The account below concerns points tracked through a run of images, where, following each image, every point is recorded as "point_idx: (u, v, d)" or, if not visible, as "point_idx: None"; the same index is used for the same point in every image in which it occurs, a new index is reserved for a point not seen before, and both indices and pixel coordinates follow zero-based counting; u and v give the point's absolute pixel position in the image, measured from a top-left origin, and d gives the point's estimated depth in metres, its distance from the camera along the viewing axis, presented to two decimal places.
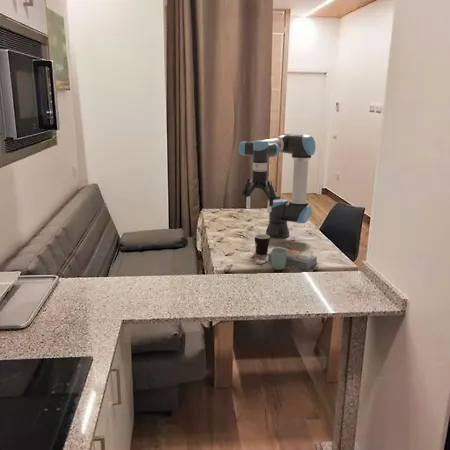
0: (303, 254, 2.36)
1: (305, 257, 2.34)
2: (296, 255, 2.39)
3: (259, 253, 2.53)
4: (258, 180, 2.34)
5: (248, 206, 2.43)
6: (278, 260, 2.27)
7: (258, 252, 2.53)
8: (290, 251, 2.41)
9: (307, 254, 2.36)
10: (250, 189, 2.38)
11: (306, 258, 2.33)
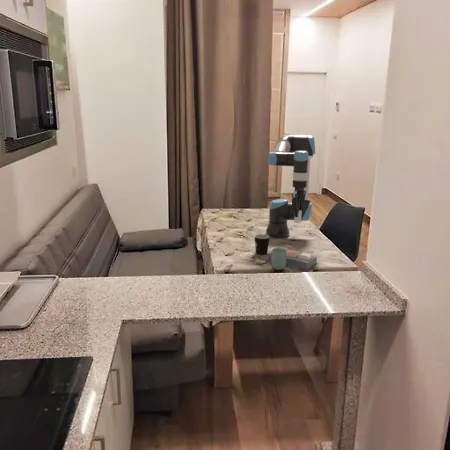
0: (303, 254, 2.36)
1: (305, 257, 2.34)
2: (296, 255, 2.39)
3: (259, 253, 2.53)
4: None
5: None
6: (278, 260, 2.27)
7: (258, 252, 2.53)
8: (290, 251, 2.41)
9: (307, 254, 2.36)
10: None
11: (306, 258, 2.33)
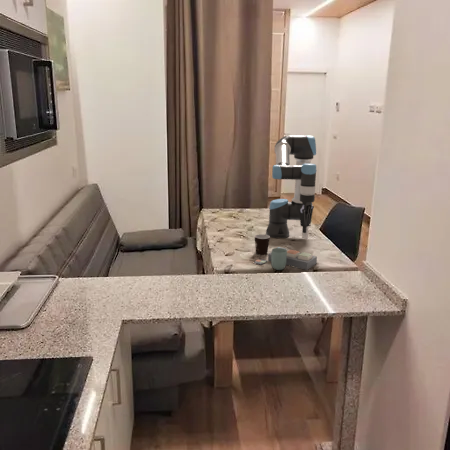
0: (303, 254, 2.36)
1: (305, 257, 2.34)
2: (296, 255, 2.39)
3: (259, 253, 2.53)
4: None
5: None
6: (278, 260, 2.27)
7: (258, 252, 2.53)
8: (290, 251, 2.41)
9: (307, 254, 2.36)
10: None
11: (306, 258, 2.33)
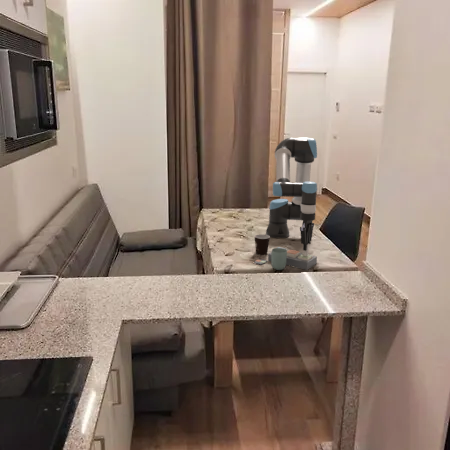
0: (303, 256, 2.37)
1: (305, 259, 2.34)
2: (296, 255, 2.39)
3: (259, 253, 2.53)
4: None
5: None
6: (278, 260, 2.27)
7: (258, 252, 2.53)
8: (290, 251, 2.41)
9: (307, 256, 2.37)
10: None
11: None
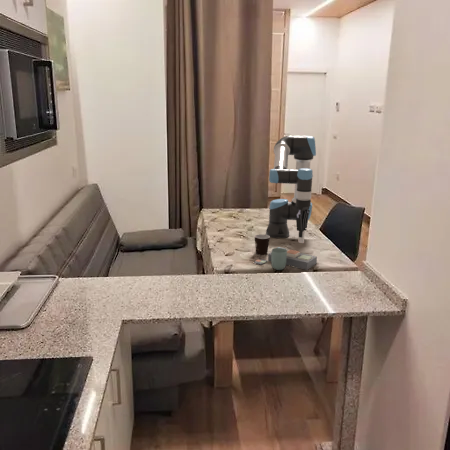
0: (303, 257, 2.37)
1: None
2: (296, 255, 2.39)
3: (259, 253, 2.53)
4: None
5: None
6: (278, 260, 2.27)
7: (258, 252, 2.53)
8: (290, 251, 2.41)
9: (307, 257, 2.37)
10: None
11: None
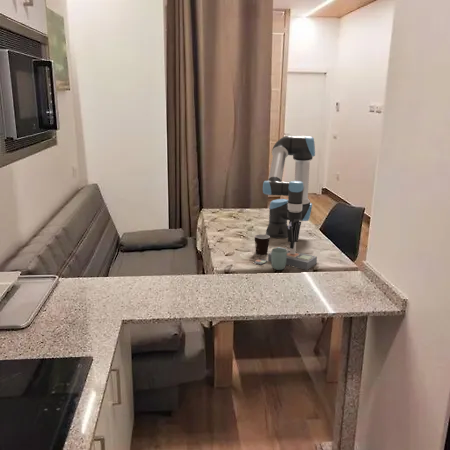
0: (303, 257, 2.37)
1: None
2: None
3: (259, 253, 2.53)
4: None
5: None
6: (278, 260, 2.27)
7: (258, 252, 2.53)
8: None
9: (307, 257, 2.37)
10: None
11: None
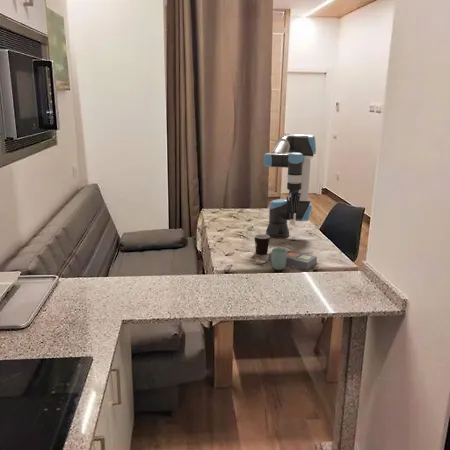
0: (303, 257, 2.37)
1: None
2: None
3: (259, 253, 2.53)
4: None
5: None
6: (278, 260, 2.27)
7: (258, 252, 2.53)
8: (290, 254, 2.41)
9: (307, 257, 2.37)
10: None
11: None
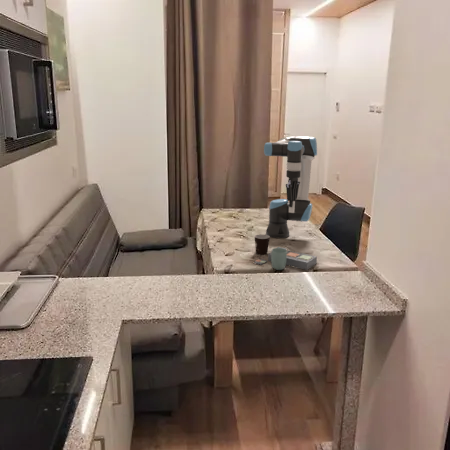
0: (303, 257, 2.37)
1: None
2: None
3: (259, 253, 2.53)
4: None
5: None
6: (278, 260, 2.27)
7: (258, 252, 2.53)
8: (290, 254, 2.41)
9: (307, 257, 2.37)
10: None
11: None
